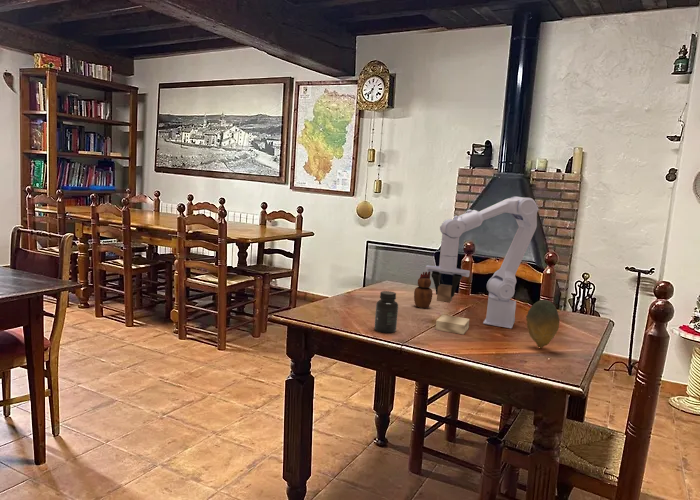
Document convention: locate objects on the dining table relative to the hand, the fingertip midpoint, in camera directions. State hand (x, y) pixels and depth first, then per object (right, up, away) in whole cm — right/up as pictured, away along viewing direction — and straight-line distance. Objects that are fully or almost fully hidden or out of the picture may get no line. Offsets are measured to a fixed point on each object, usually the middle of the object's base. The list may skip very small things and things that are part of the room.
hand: (444, 295), depth 177 cm
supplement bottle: (-21, -10, -13) cm, 27 cm away
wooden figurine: (-5, -6, +20) cm, 22 cm away
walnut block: (0, -2, 0) cm, 2 cm away
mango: (+24, -14, -20) cm, 35 cm away
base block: (+1, -10, -6) cm, 12 cm away
